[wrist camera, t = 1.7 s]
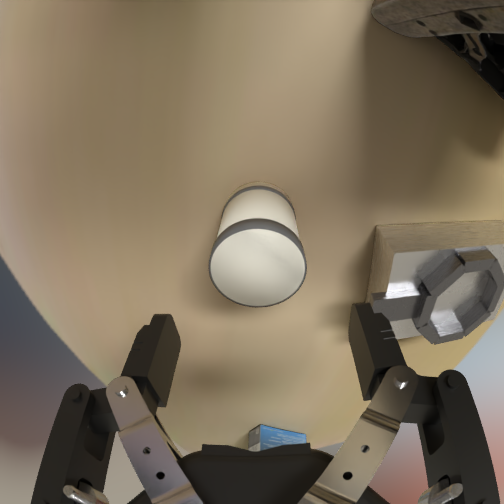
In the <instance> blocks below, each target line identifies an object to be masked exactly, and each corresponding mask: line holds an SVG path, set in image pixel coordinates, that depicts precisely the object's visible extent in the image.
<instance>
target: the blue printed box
mask: <svg viewBox="0 0 504 504" xmlns="http://www.w3.org/2000/svg"><path fill="white" fill-rule="evenodd" d="M301 443H306V434H302V433H296V432H291V431H286V430H281V429H277V428H272V427H268V426H265V425H259V426H257V427H256V428H254V429H253V430H251V431H250V432H249V444H248V450H249V451H261V450H265V449H269V448H273V447H277V446H280V445H287V444H301Z"/></svg>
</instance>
